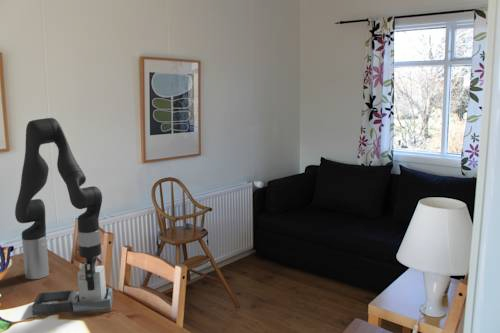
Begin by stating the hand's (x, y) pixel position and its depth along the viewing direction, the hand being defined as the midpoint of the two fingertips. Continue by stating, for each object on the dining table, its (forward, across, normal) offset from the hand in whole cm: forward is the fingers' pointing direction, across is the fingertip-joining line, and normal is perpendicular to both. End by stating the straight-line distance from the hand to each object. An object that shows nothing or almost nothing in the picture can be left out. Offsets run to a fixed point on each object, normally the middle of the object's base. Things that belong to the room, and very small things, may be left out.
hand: (92, 285), depth 162 cm
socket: (+8, -3, -14) cm, 16 cm away
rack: (+8, 0, 0) cm, 8 cm away
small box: (+7, 0, 0) cm, 7 cm away
